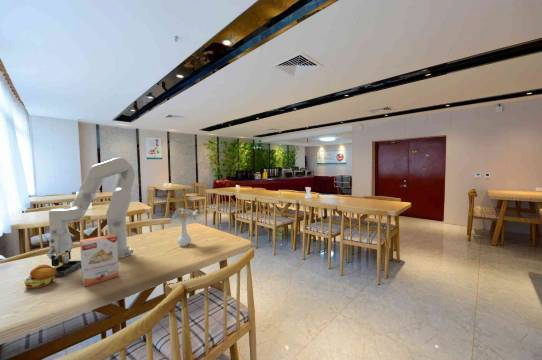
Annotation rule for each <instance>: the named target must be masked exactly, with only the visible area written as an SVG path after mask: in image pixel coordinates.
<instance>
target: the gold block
mask: <svg viewBox="0 0 542 360" xmlns="http://www.w3.org/2000/svg"><path fill="white" fill-rule="evenodd" d="M55 255H56V254H54V256H55ZM57 258H58V259H59V266H61V265H63V264H65V263H67V262H69V261H70V260H69V252H63V253H60V254H59V255H58V257H57ZM59 266H53V268H55V269H56V268H58V267H59Z"/></svg>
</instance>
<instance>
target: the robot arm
mask: <svg viewBox="0 0 542 360" xmlns="http://www.w3.org/2000/svg"><path fill="white" fill-rule="evenodd" d="M115 175H118V177H117V181H116V184H115V188H114V190H113V192H112V194H111V198H110V202H109V204H108V208H107V210H106V213H105V215H106V222H107V225H106V226H107V235H112V234H114V235H116V236H117V246H118V260H120V259H123V258H126V257H129V256H130V255H131V254H133V253H134V248H130V246H128V240H127V239H128V238H127V237H128V235H127V219H126V218H127V217H126V216H127V214H128V211H129V207H130V203H131V200H132V193H131V192H132V189H133V185H134V183H135V169H134V168H133V165H132V164H131V163H130V162H129V160H127V159H126V158H124V157H122V156H121V157H115V158H112V159H110V160H109V159H108V160H107V161H104V162H100V163H97V164H93V165H92V166H91V167H89V169H88V173H87V174H86V175H85V178H84V180H83V182H82V183H81V185H80V186H79V187H80V188H79V189H78V195H77V196H76V199H75V200H74V202H73V204H72V206H71V207H70V208H68V209H66V208H62V207H61V208H53V209H50V210H49V211H48V221H49V241H48V242H49V243H48V244H49V245H48V246H49V249H48V251H47V253H46V256H47V257H48V258H49V259H50V260H51V267H54V266H59V259H58V258H57V257H58V255H59V254H60V253H63V252H69V261H71V259H72V258H71V257H72V256H71V253H72V249H73V245H74V243H73V241H72V236H71V233H70V231H69V222H72V223H73V222H80V221H81V220H82V219H83V218H84V217H85V215H86V213H87V211H88V209H89V207H90V205H91V203H92V202H93V200H94V198H95V197H97V194H98V192H99V190H100V189H101V186H102V185H103V183H104V181H105V179H106V178H109V177H112V176H115ZM54 255H55V256H54Z"/></svg>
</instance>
